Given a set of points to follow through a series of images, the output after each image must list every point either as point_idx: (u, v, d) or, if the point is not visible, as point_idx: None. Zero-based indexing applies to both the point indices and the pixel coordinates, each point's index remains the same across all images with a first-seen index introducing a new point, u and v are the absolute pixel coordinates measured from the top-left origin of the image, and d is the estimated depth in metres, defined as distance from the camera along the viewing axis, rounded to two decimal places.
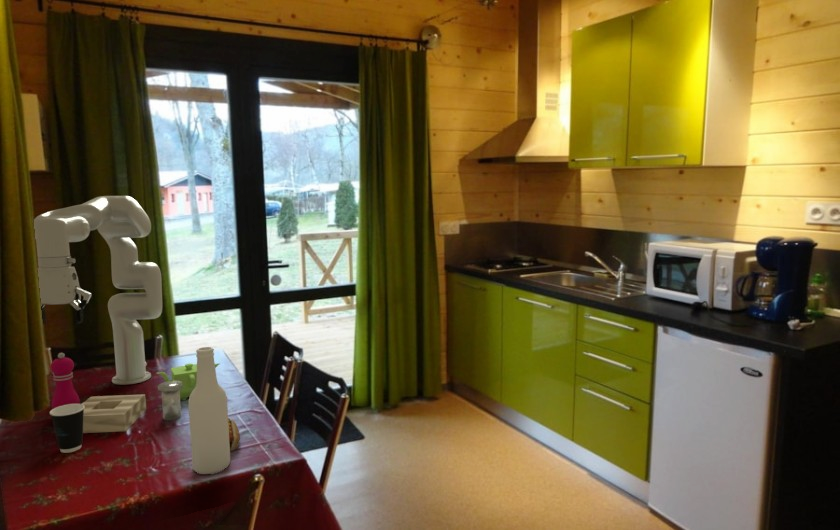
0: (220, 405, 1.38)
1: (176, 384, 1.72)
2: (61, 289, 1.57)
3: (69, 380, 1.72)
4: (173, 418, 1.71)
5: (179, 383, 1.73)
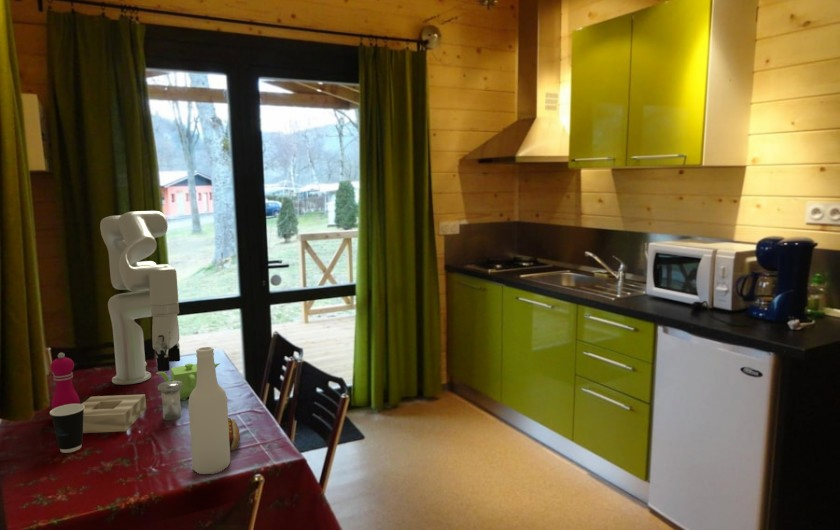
0: (220, 405, 1.38)
1: (176, 384, 1.72)
2: (177, 330, 1.72)
3: (69, 380, 1.72)
4: (173, 418, 1.71)
5: (179, 383, 1.73)
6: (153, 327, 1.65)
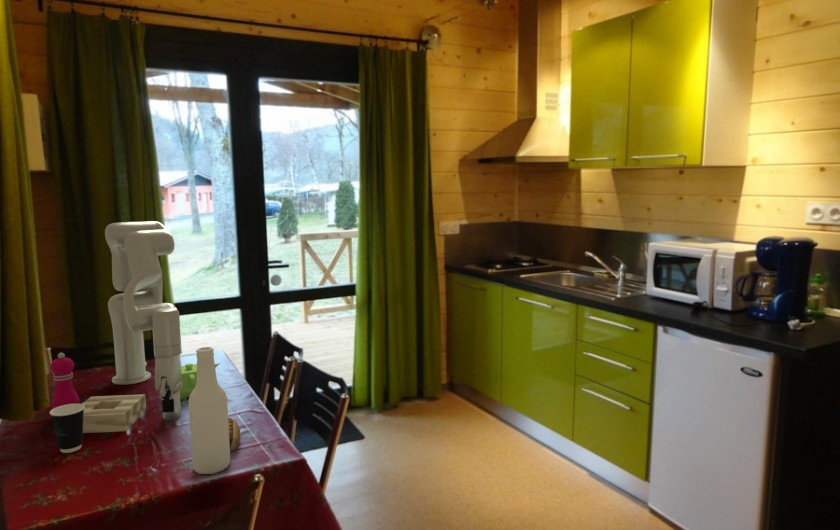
0: (220, 405, 1.38)
1: None
2: (179, 369, 1.74)
3: (69, 380, 1.72)
4: (173, 418, 1.71)
5: (180, 383, 1.73)
6: (156, 368, 1.66)
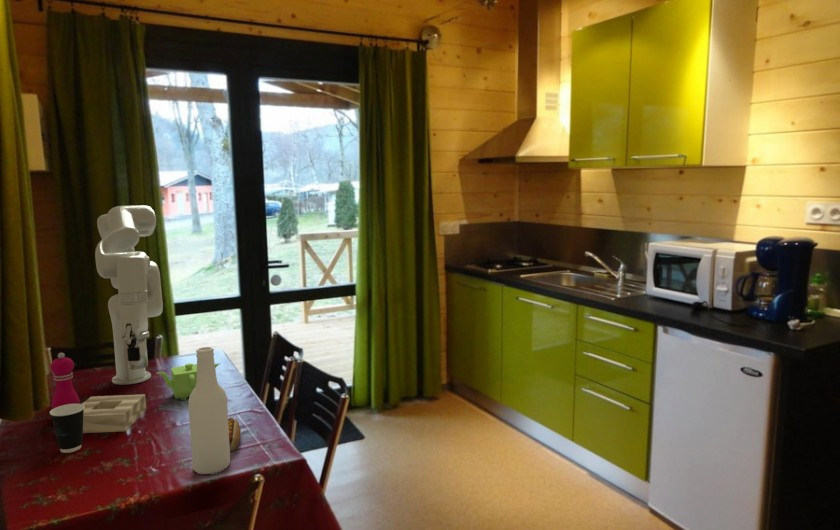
0: (220, 405, 1.38)
1: None
2: (146, 318, 1.71)
3: (69, 380, 1.72)
4: (139, 367, 1.68)
5: (146, 332, 1.69)
6: (120, 315, 1.63)
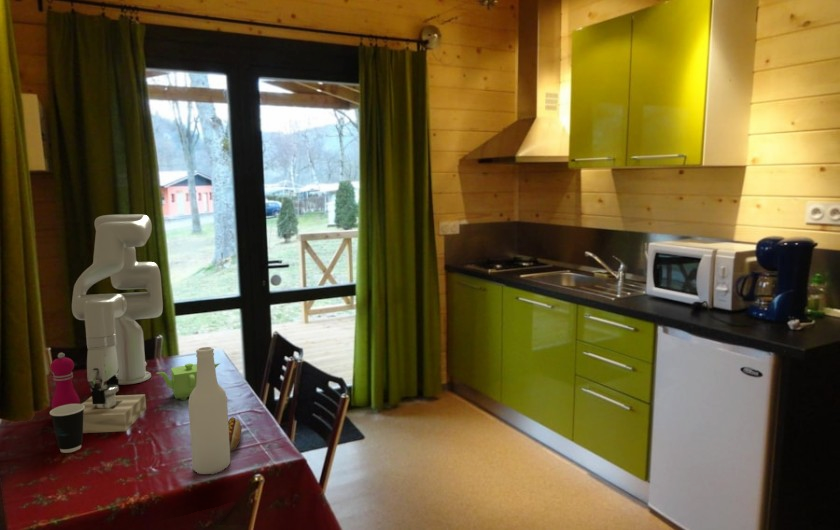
0: (220, 405, 1.38)
1: (111, 388, 1.69)
2: (115, 361, 1.71)
3: (69, 380, 1.72)
4: None
5: (115, 387, 1.70)
6: (88, 360, 1.63)
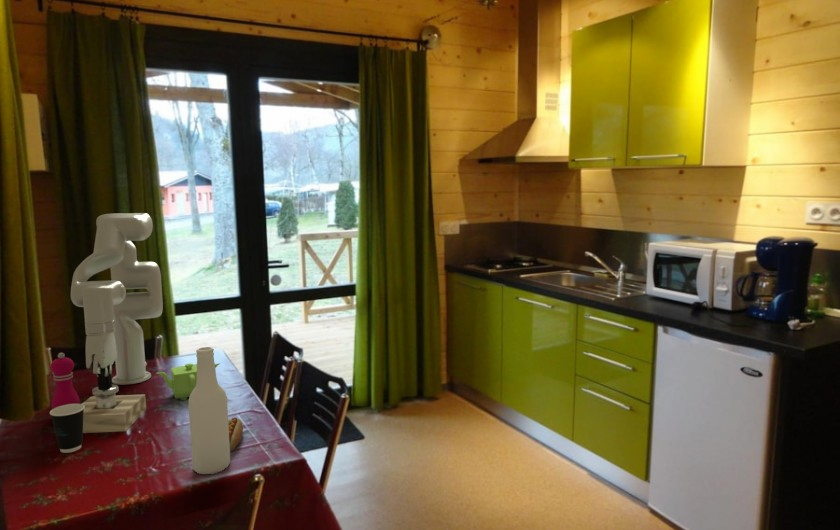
0: (220, 405, 1.38)
1: (111, 388, 1.69)
2: (114, 348, 1.70)
3: (69, 380, 1.72)
4: None
5: (115, 387, 1.70)
6: (86, 346, 1.63)
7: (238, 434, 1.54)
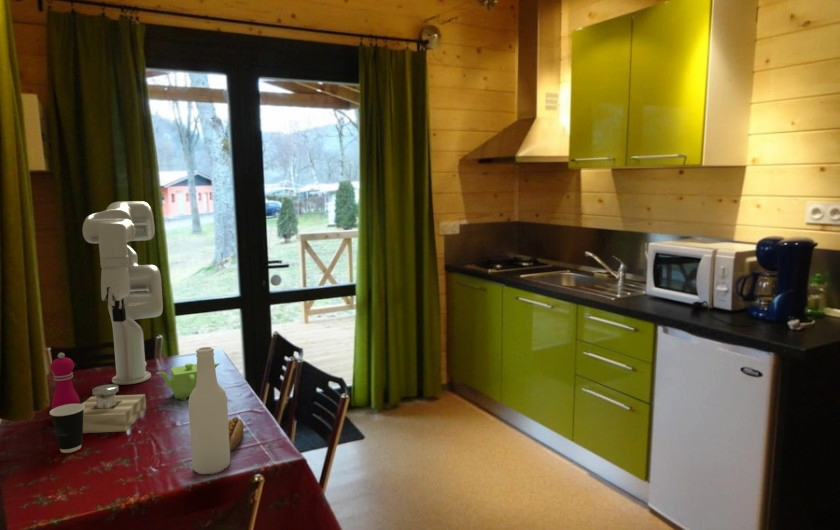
0: (220, 405, 1.38)
1: (111, 388, 1.69)
2: (127, 283, 1.78)
3: (69, 380, 1.72)
4: None
5: (115, 387, 1.70)
6: (101, 279, 1.70)
7: (238, 434, 1.53)
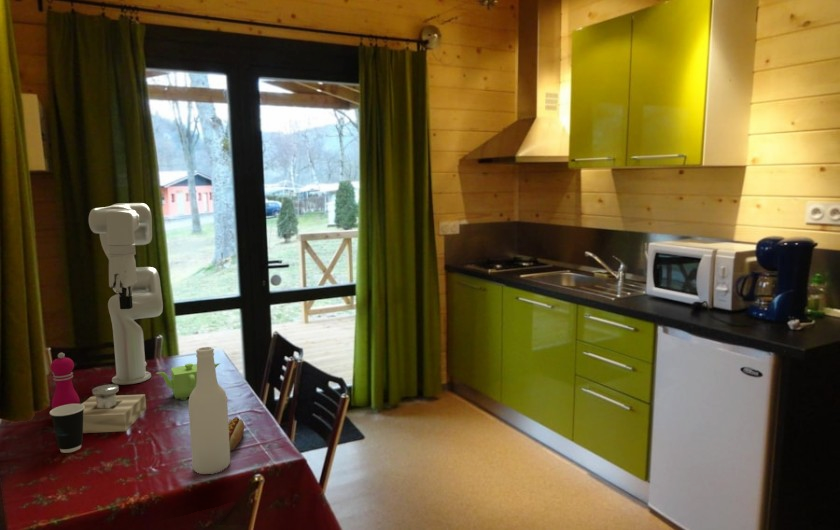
0: (220, 405, 1.38)
1: (111, 388, 1.69)
2: (134, 271, 1.82)
3: (69, 380, 1.72)
4: None
5: (115, 387, 1.70)
6: (109, 266, 1.74)
7: (238, 434, 1.53)
